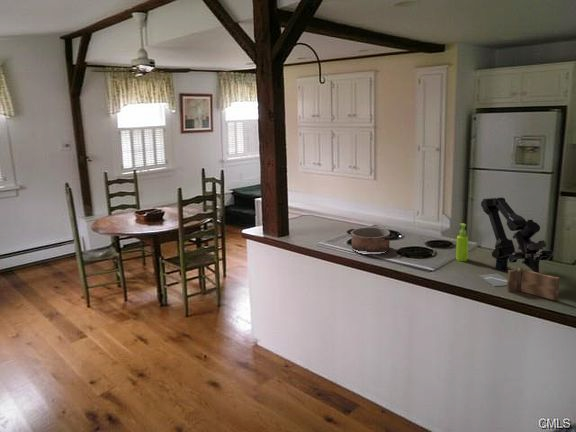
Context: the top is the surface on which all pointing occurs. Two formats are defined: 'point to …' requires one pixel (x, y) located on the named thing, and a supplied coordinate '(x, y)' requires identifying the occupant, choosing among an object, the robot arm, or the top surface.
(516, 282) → the fence post
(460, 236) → the soap dispenser
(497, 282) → the card
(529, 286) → the fence gate
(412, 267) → the top surface
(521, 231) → the robot arm
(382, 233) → the cooking pot
